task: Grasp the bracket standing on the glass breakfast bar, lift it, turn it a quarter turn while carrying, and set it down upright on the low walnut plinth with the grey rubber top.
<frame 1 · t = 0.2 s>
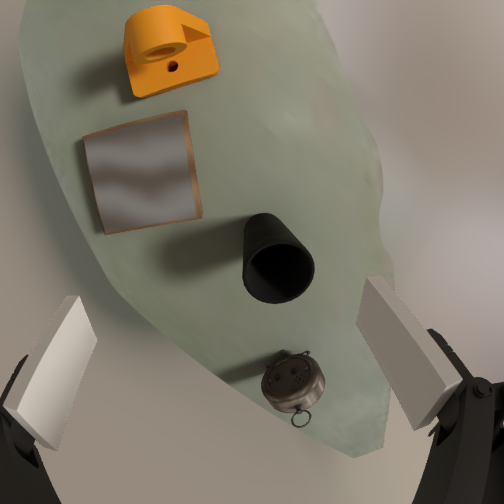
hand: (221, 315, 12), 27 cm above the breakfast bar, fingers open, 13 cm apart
bracket: (173, 63, 29), on the breakfast bar
cup: (263, 231, 40), on the breakfast bar
plinth: (143, 172, 35), on the breakfast bar
alarm clock: (285, 355, 52), on the breakfast bar
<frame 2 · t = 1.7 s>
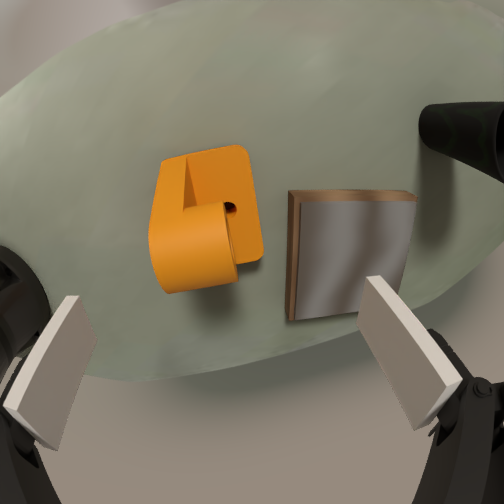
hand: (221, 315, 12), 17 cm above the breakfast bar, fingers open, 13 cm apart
bracket: (216, 203, 27), on the breakfast bar
cup: (434, 127, 25), on the breakfast bar
plinth: (347, 250, 31), on the breakfast bar
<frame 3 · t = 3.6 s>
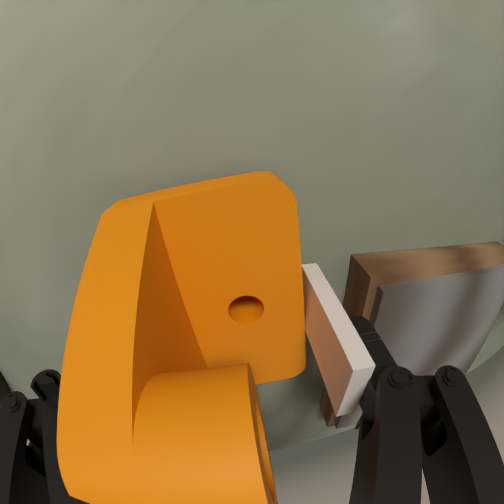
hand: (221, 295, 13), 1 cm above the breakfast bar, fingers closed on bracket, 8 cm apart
bracket: (220, 279, 15), on the breakfast bar, touching gripper
plinth: (416, 330, 18), on the breakfast bar
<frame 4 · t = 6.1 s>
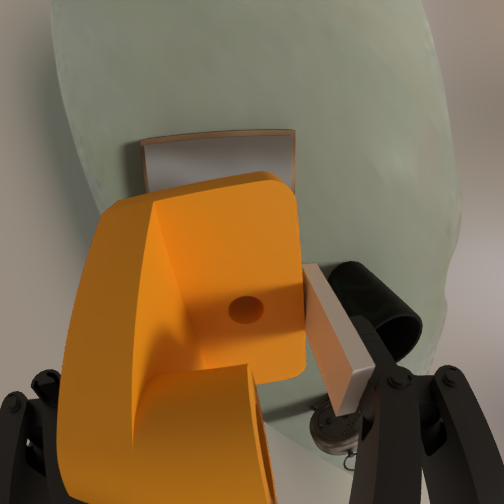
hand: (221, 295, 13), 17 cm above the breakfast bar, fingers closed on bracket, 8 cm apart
bracket: (220, 279, 15), point 15 cm above the breakfast bar, touching gripper
cup: (347, 279, 35), on the breakfast bar
plinth: (221, 200, 28), on the breakfast bar
alarm clock: (331, 396, 46), on the breakfast bar
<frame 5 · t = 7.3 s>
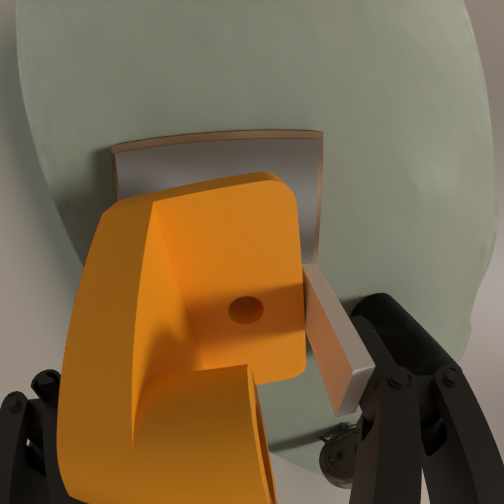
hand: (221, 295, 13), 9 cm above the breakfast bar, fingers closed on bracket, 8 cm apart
bracket: (221, 280, 15), point 8 cm above the breakfast bar, touching gripper
cup: (372, 313, 28), on the breakfast bar
plinth: (221, 223, 22), on the breakfast bar
alarm clock: (342, 426, 40), on the breakfast bar
when the fingers open (5 cm above the breakfast bar, at t = 8.5 s): bracket stays where it is, resting on plinth.
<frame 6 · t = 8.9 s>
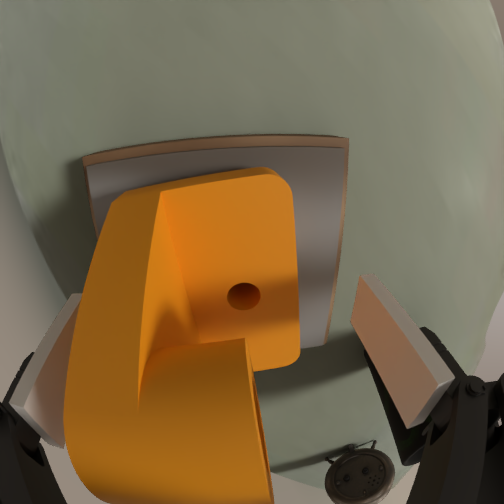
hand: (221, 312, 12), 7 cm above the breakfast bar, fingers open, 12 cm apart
bracket: (220, 269, 15), point 3 cm above the breakfast bar, touching plinth
cup: (388, 340, 24), on the breakfast bar
plinth: (220, 248, 18), on the breakfast bar
alarm clock: (349, 446, 36), on the breakfast bar
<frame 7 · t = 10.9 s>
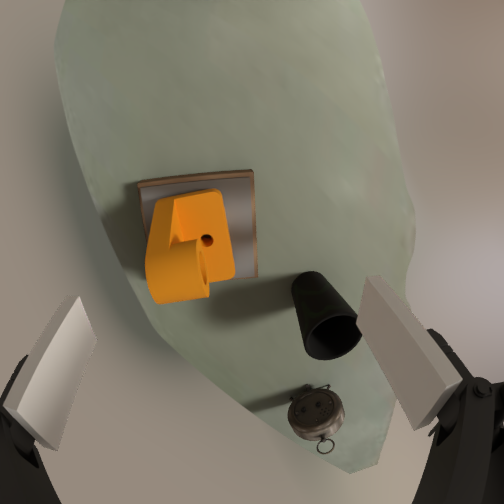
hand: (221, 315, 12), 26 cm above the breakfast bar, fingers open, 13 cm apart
bracket: (199, 233, 34), point 3 cm above the breakfast bar, touching plinth
cup: (308, 286, 43), on the breakfast bar
plinth: (200, 226, 37), on the breakfast bar
alarm clock: (308, 388, 54), on the breakfast bar
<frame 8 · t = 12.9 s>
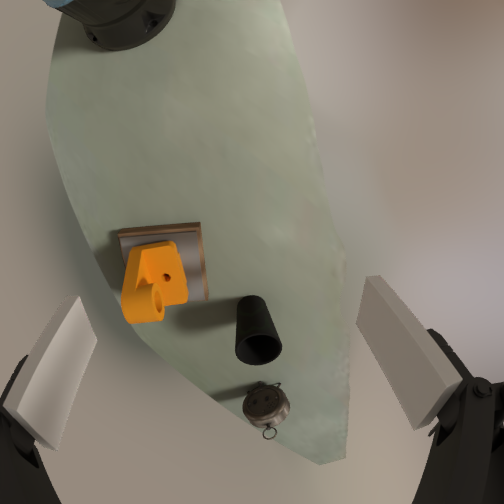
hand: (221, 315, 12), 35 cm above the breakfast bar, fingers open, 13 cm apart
bracket: (162, 269, 46), point 3 cm above the breakfast bar, touching plinth
cup: (251, 306, 55), on the breakfast bar
plinth: (165, 262, 49), on the breakfast bar
alarm clock: (262, 384, 67), on the breakfast bar
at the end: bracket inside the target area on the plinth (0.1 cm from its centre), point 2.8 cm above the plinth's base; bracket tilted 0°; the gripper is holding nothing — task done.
